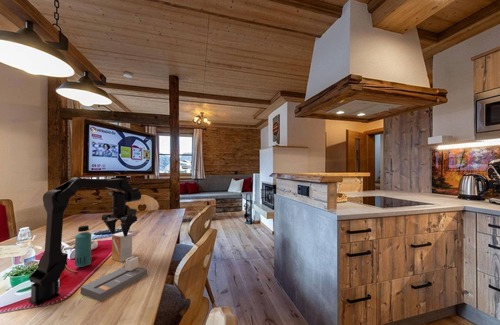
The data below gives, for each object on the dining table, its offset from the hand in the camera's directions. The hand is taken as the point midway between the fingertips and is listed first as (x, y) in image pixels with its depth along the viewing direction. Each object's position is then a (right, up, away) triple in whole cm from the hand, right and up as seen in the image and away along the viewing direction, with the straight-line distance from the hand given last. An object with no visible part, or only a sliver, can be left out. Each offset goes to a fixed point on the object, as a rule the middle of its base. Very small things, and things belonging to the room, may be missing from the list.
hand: (119, 235), depth 103 cm
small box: (-3, -15, +7) cm, 17 cm away
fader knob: (+12, -13, -10) cm, 20 cm away
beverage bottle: (-16, -15, -2) cm, 22 cm away
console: (+9, -14, -17) cm, 24 cm away
